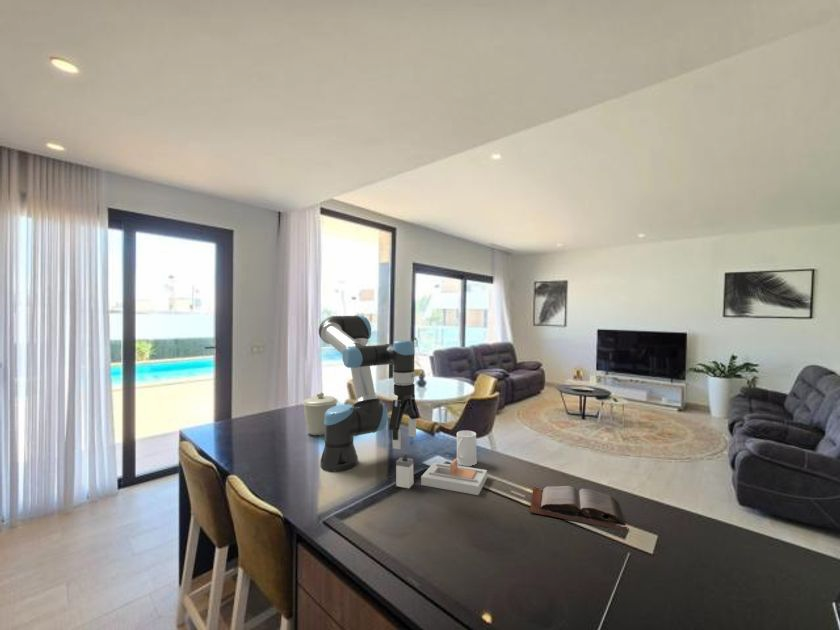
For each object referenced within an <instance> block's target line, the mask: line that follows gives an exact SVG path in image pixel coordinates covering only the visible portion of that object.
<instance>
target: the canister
mask: <svg viewBox="0 0 840 630" xmlns="http://www.w3.org/2000/svg"><path fill="white" fill-rule="evenodd" d="M338 402H339V399H337V398H336V397H334V396H329V395H325V394H324V392H322V391H319V392H317V393H316V396H311V397H308V398H306V399H305V400H303V401H302V402H301V404H302V405H303V411H304V412H303V413H304V419H305V425H306V431H307V433H308V434H309V435H312V436H317V435H318V436H325V426H324V419H325V412H326V411H327V410H328V409H330V408H332V407H334V406H338V404H337V403H338Z"/></svg>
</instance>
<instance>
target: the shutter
mask: <svg viewBox="0 0 840 630" xmlns="http://www.w3.org/2000/svg"><path fill="white" fill-rule="evenodd" d="M449 464H450V475H451V476H457V477H463V478H469V479H473V477H474V475H475V473H476V471H475V470H468V469H462V468H457V466H458V464H457V458H454V459H453V460H452V462H450V463H449Z"/></svg>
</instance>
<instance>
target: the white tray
mask: <svg viewBox="0 0 840 630" xmlns="http://www.w3.org/2000/svg"><path fill="white" fill-rule="evenodd" d="M450 464H451V463H443V462H439V461H438V462H437V461H434V462H433V463H432V464H431V465H429V467H428V469H427V470H426V471H425V472H424V473H423V474H422V475H421V476H420V485H421V486H425V487H431V488H437V489H442V490H446V491H447V490H448V491H452V492H458V493H464V494H470V495H474V496H480V493H481V491H482V490H483V487H484V485H485V483H486V481H487V479H488V470H487V469H482V468H475V467H471V466H461V465H457V468H462V469H468V470H475V471H476V473H475V475H474V477H473V479H469V478H463V477H457V476H451V475H450Z"/></svg>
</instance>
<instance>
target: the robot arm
mask: <svg viewBox="0 0 840 630" xmlns="http://www.w3.org/2000/svg"><path fill="white" fill-rule="evenodd" d="M318 335H319V337H320V339H321V340H322V342H323V343H325V344H328V345H331V346H332V347H333V348H334V349H335V350H336V351H338V352H339V353H340V354H341V355H342V356H341V357H342V362H343V365H344V366H345V367H346V368H349V369H350V370H351V377H352V383H353V389H354V394H355V395H354V396H355V400H354V402H353V405H352V404H337V405H336V406H334V407H332V408H330V409H328V410H327V411H326V412H325V419H324V426H325V435H324V448H323V451H322V454H321V458H320V468H321V469H322V470H324V471H327V472H343V471H346V470H347V471H348V470H350V469H352V468H354V467H356V466H357V465H358V463H359V457H358V456H359V455H358V454H357V450H356V447H355V444H354V437H358V436H361V435H367V434H372V433H377V432H381V431H383V430H384V429H385V428H386V426H387V422H388V409H387V406H386V404H385V403H383V402H381V400H380V397H378V396H377V395H376V392H375V387H374V386H375V385H374V381H373V375H372V370H371V367H375V366H376V367H377V366H386V365H391V366H392V365H393V383H394V384H393V394H394V395H395V396H397V398H396V399H394V400H392V409H391V415H390V419H389V425H388V430H389V431H390V430H391V432H392V449H393V450H394V449H396V450H401V449H402V446H401V445H402V444H401V443H402V442H401V441H402V439H401V434H402V433H401V429H400V427H401V424H402V420H403V417H404V414H405V413H406V412H407V415H408V416H409V418H408V437H413V438H416V437H417V420H418V419H419V410H418V406H417V402H416V396H415V389H416V388H415V383H414V382H415V377H416V374H415V345H414V344H415V343H414V342H413V341H412V340H407V339H406V340H403V339H402V340H401V339H400V340H394V341H393V344H391V343H384V344H377V345H374V344H373V345H367V344H369V340H370V338H371V336H372V326H371V323H370V321H369V319H368V318H367V317H365V316H364V315H333V316H330V317H326V318H325V319H324V320H323V321H321V323H320V325H319V328H318Z"/></svg>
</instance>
